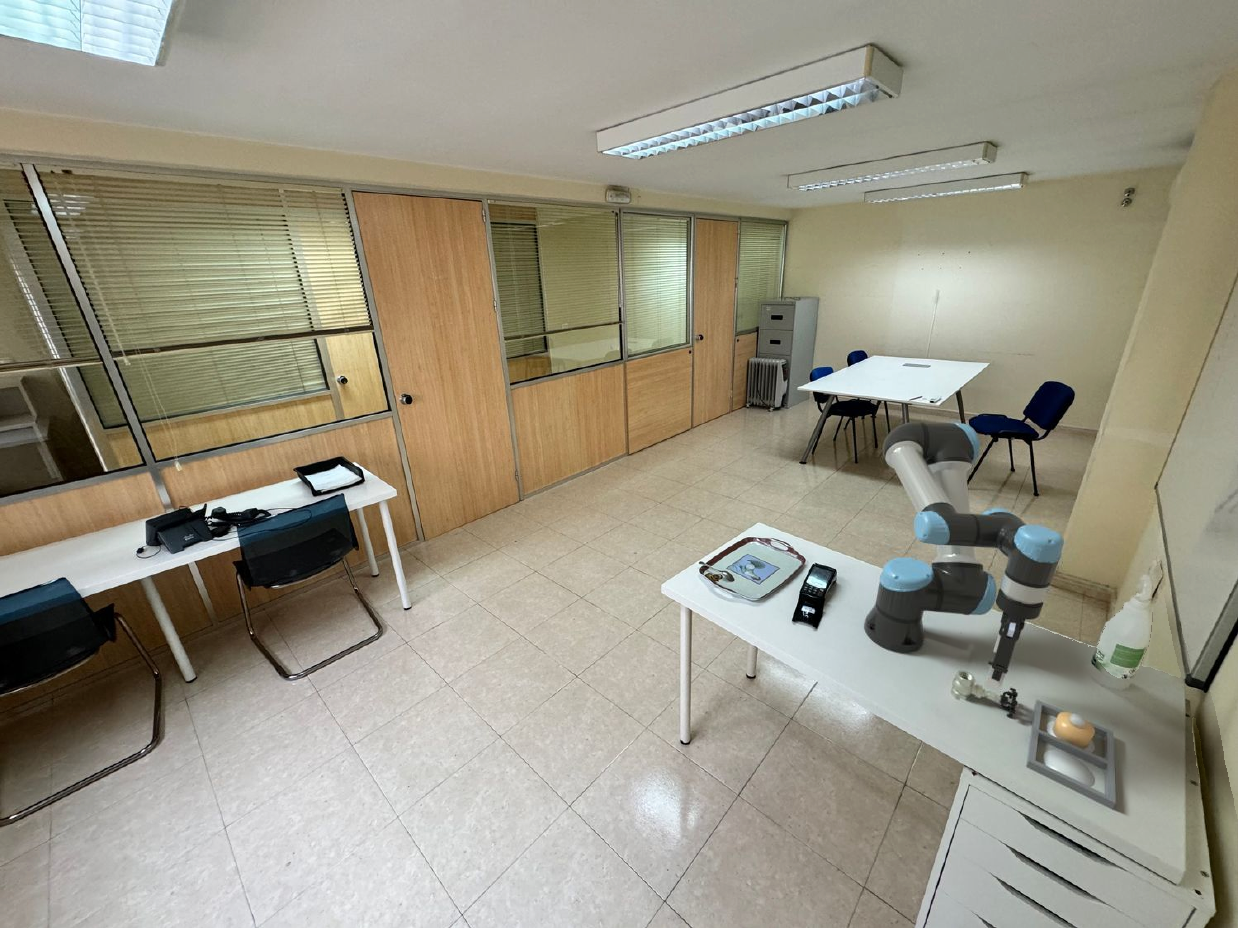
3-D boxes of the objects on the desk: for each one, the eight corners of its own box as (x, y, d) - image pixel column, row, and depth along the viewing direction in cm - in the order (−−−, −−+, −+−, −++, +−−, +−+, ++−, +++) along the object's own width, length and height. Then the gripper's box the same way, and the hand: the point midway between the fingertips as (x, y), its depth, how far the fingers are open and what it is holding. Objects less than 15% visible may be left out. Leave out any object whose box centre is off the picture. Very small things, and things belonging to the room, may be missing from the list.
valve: (949, 701, 117) (1011, 724, 110) (955, 681, 114) (1019, 703, 108) (949, 682, 122) (1008, 703, 115) (955, 663, 119) (1016, 683, 113)
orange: (1051, 737, 106) (1059, 719, 104) (1053, 719, 110) (1060, 701, 108) (1088, 754, 102) (1097, 736, 100) (1088, 735, 106) (1097, 717, 104)
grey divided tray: (1025, 769, 100) (1028, 760, 100) (1033, 707, 114) (1036, 699, 113) (1110, 811, 92) (1115, 803, 91) (1109, 739, 106) (1113, 731, 105)
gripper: (1039, 633, 92) (1010, 713, 100) (1048, 574, 109) (1022, 647, 117) (991, 616, 97) (967, 694, 105) (1006, 563, 114) (984, 633, 121)
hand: (996, 670), depth 111 cm, fingers open, 13 cm apart
